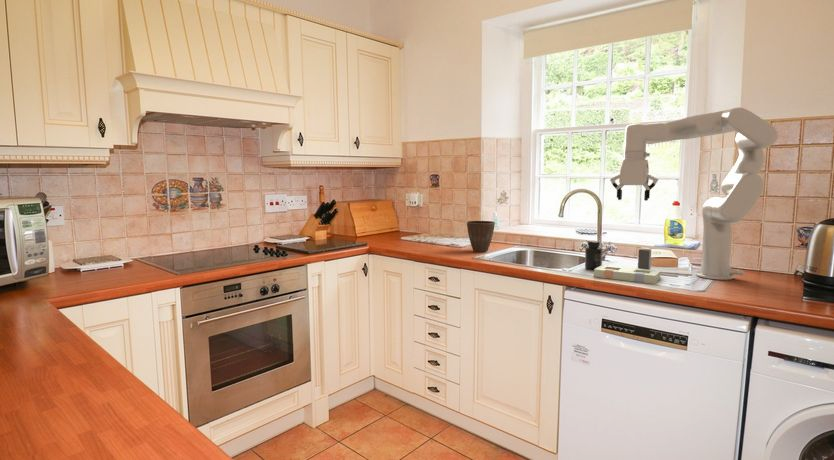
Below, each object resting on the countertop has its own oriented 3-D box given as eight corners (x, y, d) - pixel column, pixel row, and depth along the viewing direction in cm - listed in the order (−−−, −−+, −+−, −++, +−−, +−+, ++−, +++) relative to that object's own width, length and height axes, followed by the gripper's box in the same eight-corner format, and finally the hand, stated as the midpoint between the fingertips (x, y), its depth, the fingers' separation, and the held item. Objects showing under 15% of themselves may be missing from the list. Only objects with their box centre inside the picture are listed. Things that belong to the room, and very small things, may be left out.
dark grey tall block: (650, 273, 195) (651, 248, 194) (648, 275, 191) (649, 249, 190) (639, 272, 197) (640, 247, 196) (637, 274, 194) (638, 248, 193)
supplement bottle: (601, 267, 207) (602, 240, 206) (601, 270, 201) (603, 242, 199) (584, 267, 209) (585, 240, 208) (584, 269, 203) (585, 242, 202)
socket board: (660, 278, 185) (660, 270, 185) (654, 283, 175) (655, 275, 175) (602, 271, 198) (602, 264, 198) (593, 276, 188) (593, 268, 188)
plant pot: (496, 253, 246) (496, 223, 244) (467, 253, 246) (467, 223, 245) (492, 249, 261) (492, 220, 259) (465, 249, 261) (465, 220, 260)
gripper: (661, 156, 183) (658, 200, 185) (613, 157, 193) (612, 199, 195) (657, 155, 177) (655, 201, 179) (609, 156, 187) (607, 199, 189)
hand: (632, 200), depth 187 cm, fingers open, 9 cm apart
